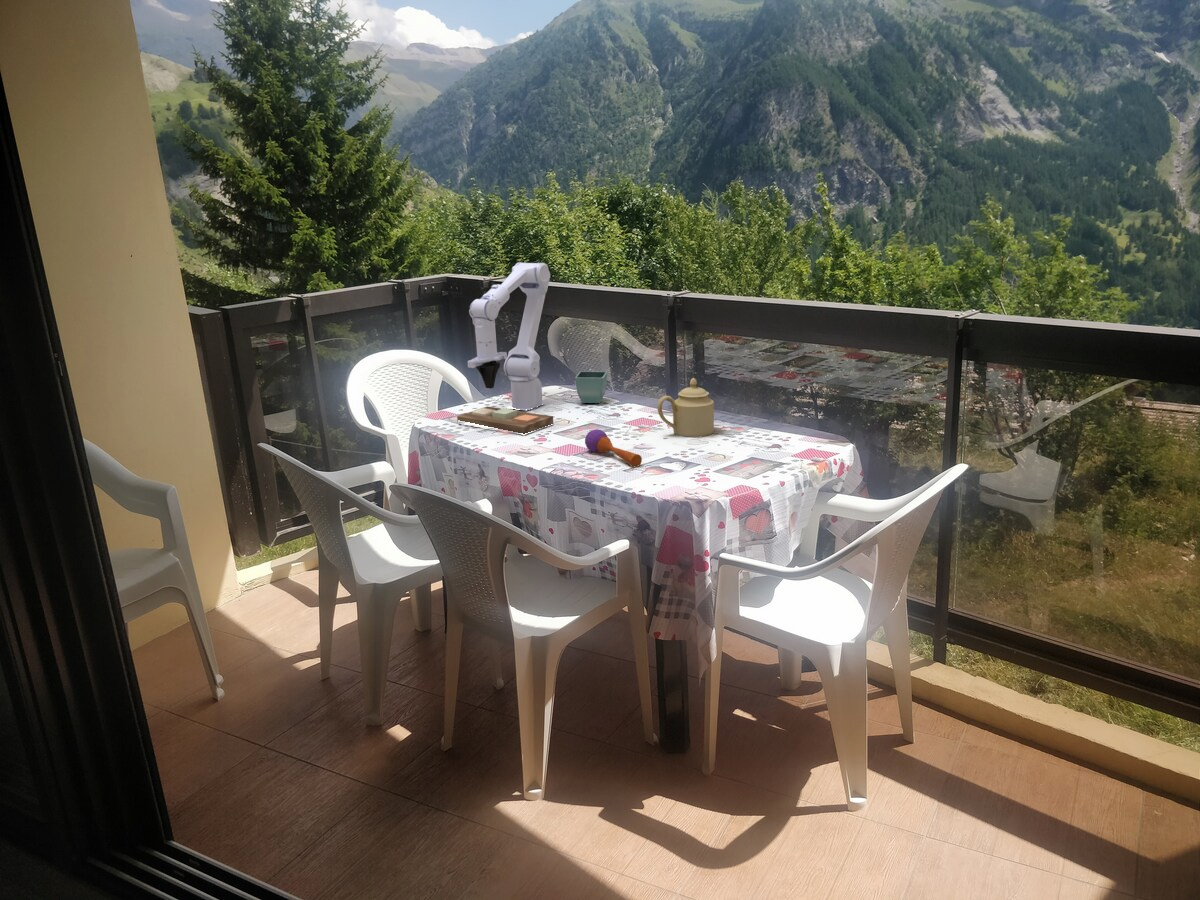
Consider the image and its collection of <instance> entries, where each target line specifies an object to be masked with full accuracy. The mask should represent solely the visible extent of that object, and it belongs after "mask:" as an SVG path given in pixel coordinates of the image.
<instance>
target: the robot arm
mask: <svg viewBox="0 0 1200 900" xmlns="http://www.w3.org/2000/svg"><path fill="white" fill-rule="evenodd" d="M550 278H551V273H550V270H549V267H548V265H547V264H546V263H545V262H536V263H535V262H521V261H518V262H517V263H515V265H514V266H512V267H511V273H509V275H508V276H507V277H506V278H505V280H504V281H503V282H502V283H501V284H499V283H498V284H492V285H491V288H490V289H489V290H488V291H486V293H484V294H483V295H482V296H481V297H480V298H476V299H474V300H473V301H472V302H471V303H470V305H469V310H468V313H469V316H470V317H471V318H472V319H471V320H472V325H474V330H475V331H474V333H475V342H476V357H473V358H472V359H470V360H467V368H469V369H475V368H476V369H477V371H478V372H479V374H480V376H481V378H482V381H483V383H484V386H485V389H490V390H491V389H494V388H495V383H496V382H495V381H496V377H497V374H498V371H499V369H500V367H501V363H500V362H497V361H501V360H505V361H504V363H503V372H504V373H505V376H506V377H507V379H508V380H510V390H511V405H512V407H513V408H516V409H520V410H526V409H527V410H529V409H531V408H534V407H537V406H540V405H542V404H545V405H546V403H544V402H543V400H544V399H543V387H542V385H543V384H542V382H541V380H540V379H539V378H538V376H539V373H540V367H541V366H540V360H541V357H540V355H539V353H537V351H536V350H535V346H536V341H537V336H538V332H539V325H540V321H541V316H542V313H543V307H544V304H545V303H544V302H545V299H546V294H547V292H548V289H549V288H548V287H549V284H550V280H551V279H550ZM517 288H519V289H520V290H521V291H522V293H524V294H525V295H526V300H525V304H524V305H525V306H524V308H523V309H524V310H523V315H522V320H521V323H520V327H519V334H518V337H517V343H516V345H515V346H514V347H513V348H511V349H510V350H509V351H508V354H507V351H499V352H498V348H497V347H498V346H497V345H498V344H497V335H496V323H495V322H496V319H497V318H498V315H499V312H500V310H501V308H502V307H503V306H504V305H505V304H506V303H507V302H508V301H510V300H509V299H510V294H511V293H512V292H513V291H514V290H516V289H517ZM540 407H541V406H540ZM537 408H538V407H537ZM534 409H535V408H534ZM531 410H532V409H531ZM529 411H530V410H529Z"/></svg>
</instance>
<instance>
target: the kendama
mask: <svg viewBox="0 0 1200 900" xmlns="http://www.w3.org/2000/svg"><path fill="white" fill-rule="evenodd" d="M584 444H585V446H586V449H588V450H589V451H590V452H592V453H595V452H598V453H602V454H603V453H607V452H612V453H613V454H615V455H616V456H618V457H619V458H620V459H622V461H624V462H626V463H627V464H628V465H630V467H633V468H635V467H634V466H636V467H639V466H640V465H641V464H642V461H643V460H642V456H641V455H640V454H638V453H634V452H631V451H628V450H625V449H623V448H618V447H614V446H613V443H612V441H611V439H610V438H609V437H608V435H607V433H606V432H605V431H604V430H602V429H598V428H597V429H592V430H590V431H589V432H587V434H586V435H585V439H584ZM638 465H639V466H638Z"/></svg>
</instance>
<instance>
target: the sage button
mask: <svg viewBox="0 0 1200 900" xmlns="http://www.w3.org/2000/svg"><path fill="white" fill-rule="evenodd" d="M517 411H518V410H513V409H507V408H506V407H505V408H504V407H503V408H502V409H500V410H497V411H494V412H492V418H498V419H504V420H506V419H509V418H512V417H515V416H517Z"/></svg>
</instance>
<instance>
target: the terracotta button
mask: <svg viewBox="0 0 1200 900" xmlns="http://www.w3.org/2000/svg"><path fill="white" fill-rule="evenodd" d="M538 419H539V417H538V416H531V415H522V416H519V417H517V418H514V421H517V422H523V423H530V422H532V421H535V420H538Z"/></svg>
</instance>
